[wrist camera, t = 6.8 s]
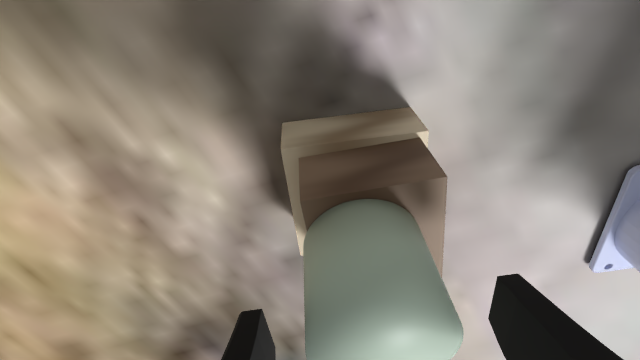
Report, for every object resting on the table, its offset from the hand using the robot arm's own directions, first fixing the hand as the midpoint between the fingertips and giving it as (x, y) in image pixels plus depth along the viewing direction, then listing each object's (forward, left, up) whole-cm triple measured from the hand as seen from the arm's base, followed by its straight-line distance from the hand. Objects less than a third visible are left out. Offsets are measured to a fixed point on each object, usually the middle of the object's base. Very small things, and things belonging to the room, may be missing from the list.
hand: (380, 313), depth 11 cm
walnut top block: (0, 0, -6) cm, 6 cm away
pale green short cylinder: (0, 0, -3) cm, 3 cm away
